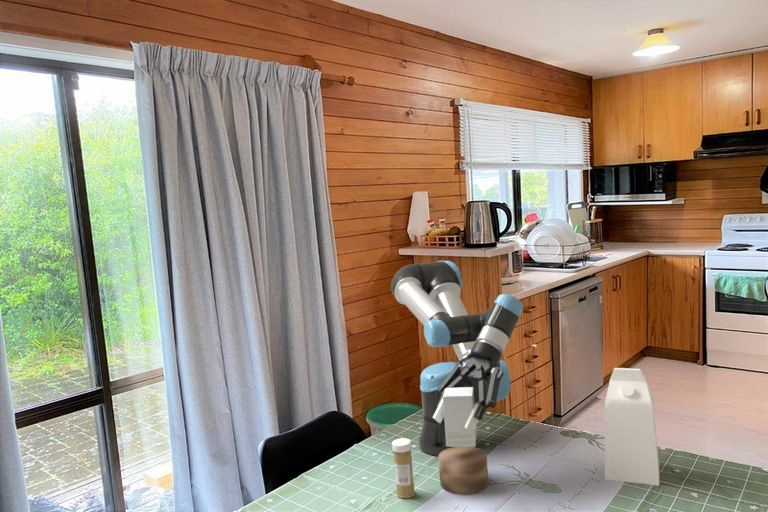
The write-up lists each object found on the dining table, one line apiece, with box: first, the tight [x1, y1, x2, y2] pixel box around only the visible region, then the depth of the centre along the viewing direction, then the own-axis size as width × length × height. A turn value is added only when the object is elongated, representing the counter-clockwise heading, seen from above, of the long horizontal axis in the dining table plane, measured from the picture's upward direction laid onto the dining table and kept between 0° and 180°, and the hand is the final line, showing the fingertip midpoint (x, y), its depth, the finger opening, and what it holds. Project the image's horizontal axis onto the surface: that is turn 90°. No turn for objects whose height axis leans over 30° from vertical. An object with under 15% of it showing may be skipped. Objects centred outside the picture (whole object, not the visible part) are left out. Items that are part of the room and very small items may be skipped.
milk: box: [604, 367, 660, 487], centre depth 142 cm, size 12×12×26 cm
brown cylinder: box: [437, 446, 490, 496], centre depth 144 cm, size 12×12×7 cm
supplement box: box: [443, 387, 478, 448], centre depth 142 cm, size 7×7×13 cm
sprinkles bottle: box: [391, 438, 416, 499], centre depth 140 cm, size 5×5×13 cm
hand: (452, 425), depth 141 cm, fingers closed on supplement box, 10 cm apart
